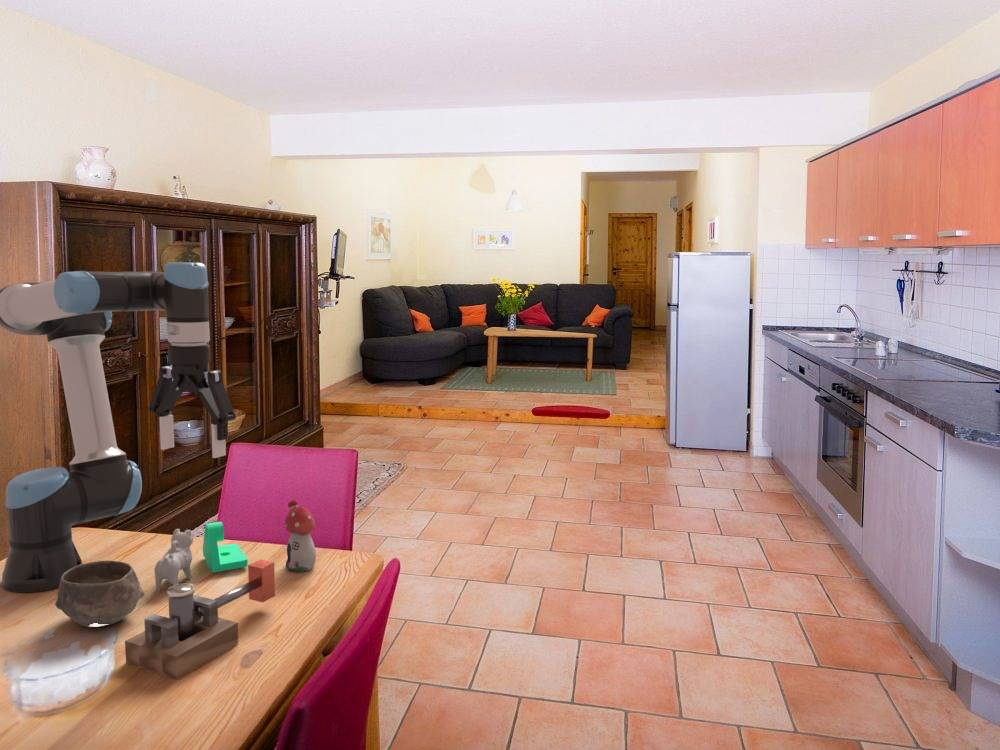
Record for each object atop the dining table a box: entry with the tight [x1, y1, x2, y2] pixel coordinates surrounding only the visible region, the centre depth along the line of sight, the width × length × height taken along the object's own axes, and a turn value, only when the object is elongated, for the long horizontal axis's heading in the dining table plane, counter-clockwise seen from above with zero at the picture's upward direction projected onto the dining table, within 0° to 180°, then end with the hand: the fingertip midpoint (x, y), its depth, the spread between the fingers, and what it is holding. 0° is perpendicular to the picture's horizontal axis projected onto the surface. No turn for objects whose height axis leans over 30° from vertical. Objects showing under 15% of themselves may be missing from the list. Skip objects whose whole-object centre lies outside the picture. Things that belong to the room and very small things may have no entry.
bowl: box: [54, 560, 145, 627], centre depth 150 cm, size 14×15×10 cm
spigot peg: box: [166, 583, 195, 641], centre depth 138 cm, size 4×4×12 cm
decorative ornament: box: [284, 499, 317, 574], centre depth 178 cm, size 9×6×15 cm
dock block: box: [124, 594, 239, 680], centre depth 138 cm, size 12×14×8 cm
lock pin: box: [196, 559, 276, 617], centre depth 149 cm, size 4×18×7 cm, turn 155°
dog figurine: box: [154, 528, 194, 592], centre depth 169 cm, size 5×13×11 cm, turn 0°
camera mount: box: [202, 521, 249, 573], centre depth 179 cm, size 12×8×10 cm, turn 31°
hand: (192, 452), depth 153 cm, fingers open, 13 cm apart
